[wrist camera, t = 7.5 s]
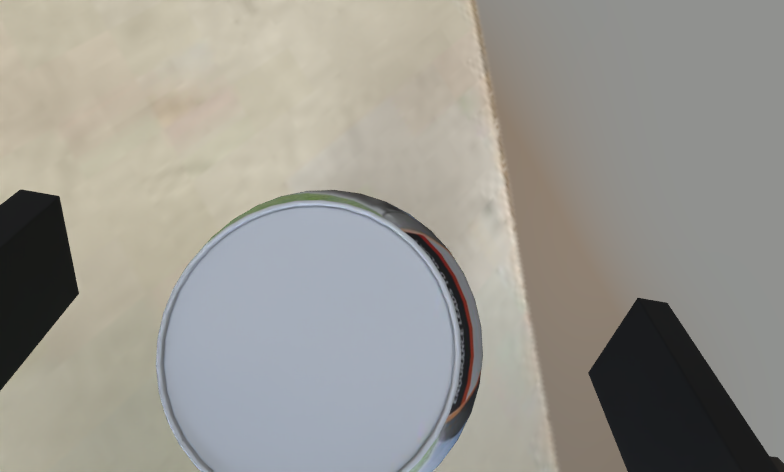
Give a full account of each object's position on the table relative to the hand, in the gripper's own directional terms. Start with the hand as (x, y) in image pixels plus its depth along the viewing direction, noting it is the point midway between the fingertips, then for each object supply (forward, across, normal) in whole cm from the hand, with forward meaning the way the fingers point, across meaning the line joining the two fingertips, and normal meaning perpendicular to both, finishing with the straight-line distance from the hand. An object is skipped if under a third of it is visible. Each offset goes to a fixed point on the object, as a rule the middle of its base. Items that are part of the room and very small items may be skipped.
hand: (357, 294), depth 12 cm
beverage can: (+5, 0, -7) cm, 8 cm away
